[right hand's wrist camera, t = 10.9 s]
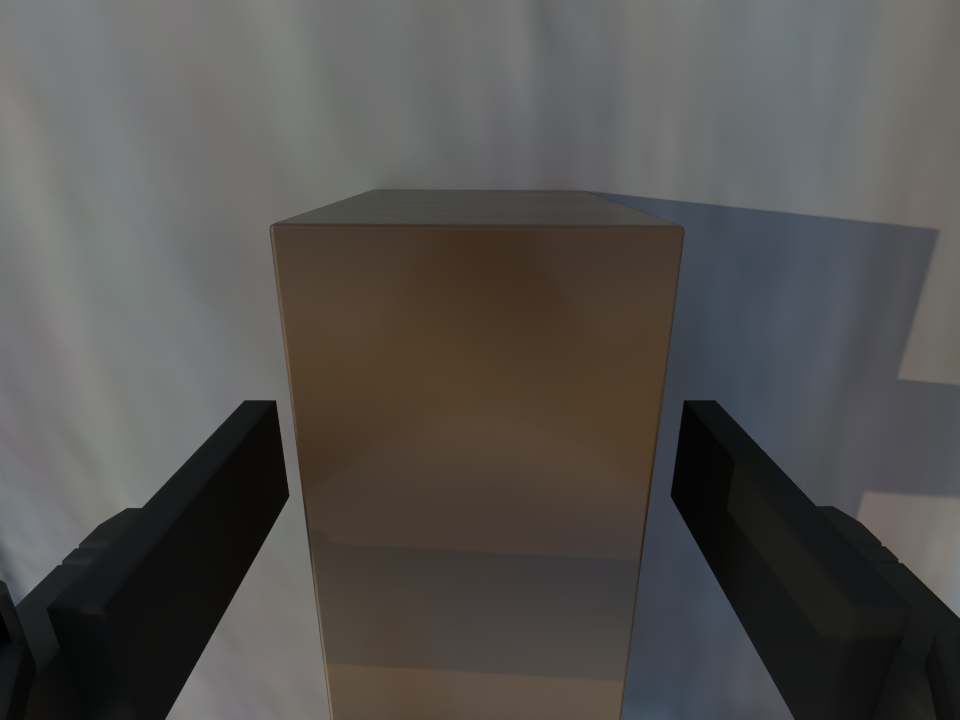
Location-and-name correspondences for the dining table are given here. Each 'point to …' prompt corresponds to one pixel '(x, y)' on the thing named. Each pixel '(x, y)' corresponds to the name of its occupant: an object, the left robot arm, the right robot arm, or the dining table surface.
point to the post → (476, 443)
